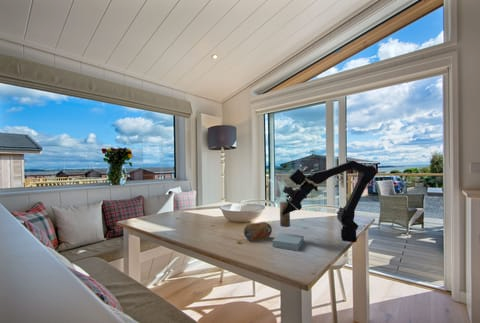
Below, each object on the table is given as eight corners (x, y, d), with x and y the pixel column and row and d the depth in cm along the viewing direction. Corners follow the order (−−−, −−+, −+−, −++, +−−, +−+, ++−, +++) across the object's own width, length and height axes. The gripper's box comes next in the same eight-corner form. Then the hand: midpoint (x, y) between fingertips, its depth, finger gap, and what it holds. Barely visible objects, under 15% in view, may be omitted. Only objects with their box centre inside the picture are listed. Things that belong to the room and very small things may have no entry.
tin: (245, 241, 119) (244, 224, 119) (243, 239, 122) (242, 223, 122) (272, 238, 123) (271, 222, 123) (269, 236, 126) (269, 220, 126)
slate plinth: (303, 242, 115) (303, 236, 115) (297, 250, 104) (297, 243, 104) (280, 238, 121) (280, 233, 121) (272, 246, 110) (272, 240, 110)
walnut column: (290, 224, 122) (290, 201, 122) (289, 227, 117) (288, 203, 117) (281, 224, 124) (280, 201, 124) (279, 226, 119) (278, 203, 119)
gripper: (289, 179, 129) (270, 199, 131) (294, 182, 111) (271, 205, 112) (304, 193, 129) (284, 213, 130) (311, 198, 110) (288, 221, 111)
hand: (282, 212), depth 121 cm, fingers closed on walnut column, 5 cm apart
